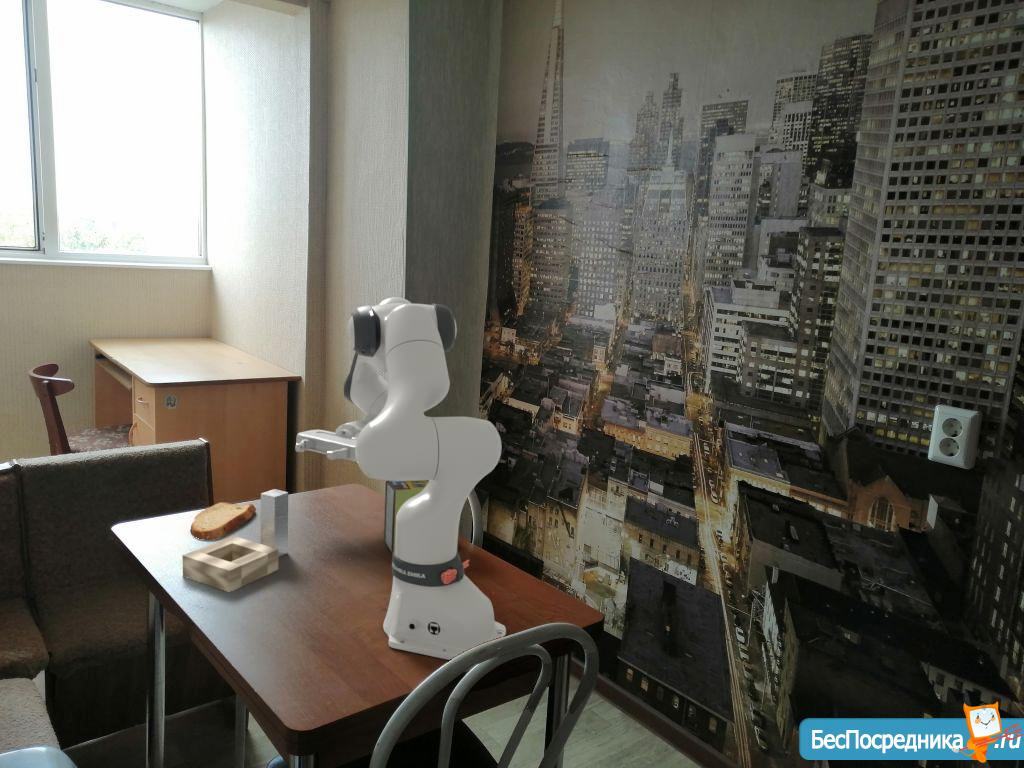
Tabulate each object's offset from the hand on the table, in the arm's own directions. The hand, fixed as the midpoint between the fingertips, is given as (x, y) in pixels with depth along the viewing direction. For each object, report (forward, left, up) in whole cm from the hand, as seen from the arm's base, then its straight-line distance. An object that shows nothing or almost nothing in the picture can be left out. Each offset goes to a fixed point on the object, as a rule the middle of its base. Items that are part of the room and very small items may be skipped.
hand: (313, 452), depth 172 cm
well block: (0, +24, -20) cm, 32 cm away
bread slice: (+23, +5, -21) cm, 31 cm away
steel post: (0, +12, -20) cm, 24 cm away
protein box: (-23, -11, -21) cm, 33 cm away
